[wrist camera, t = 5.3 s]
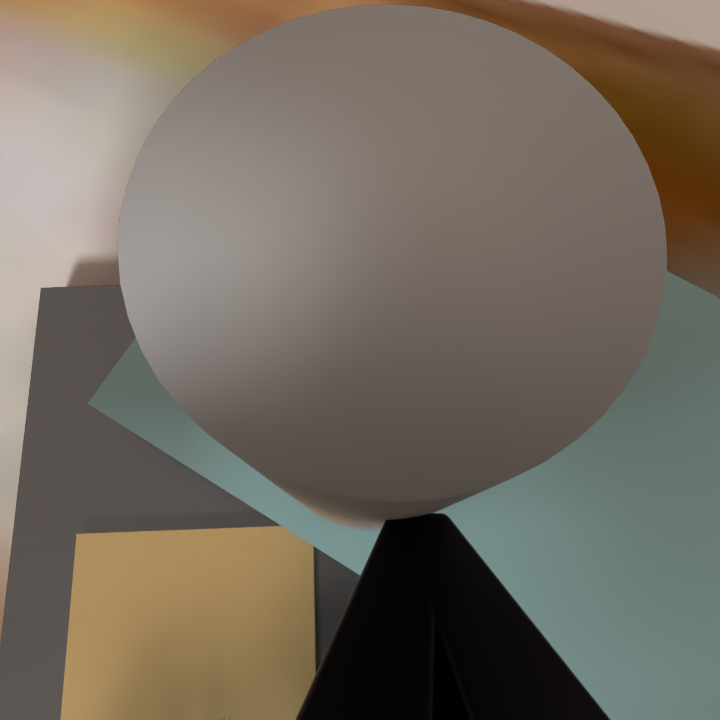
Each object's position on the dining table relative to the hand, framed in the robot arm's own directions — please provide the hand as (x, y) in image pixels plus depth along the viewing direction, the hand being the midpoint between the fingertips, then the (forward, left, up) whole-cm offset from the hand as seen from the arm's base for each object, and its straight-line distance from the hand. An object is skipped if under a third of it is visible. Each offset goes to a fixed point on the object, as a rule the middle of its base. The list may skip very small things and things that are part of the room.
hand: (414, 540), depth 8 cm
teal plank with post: (0, -4, -7) cm, 8 cm away
